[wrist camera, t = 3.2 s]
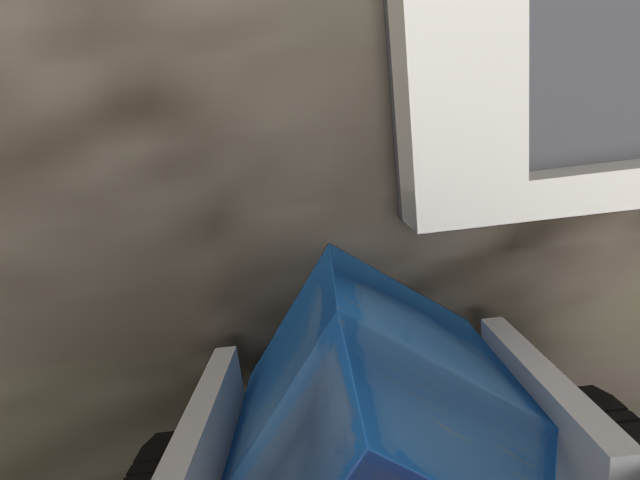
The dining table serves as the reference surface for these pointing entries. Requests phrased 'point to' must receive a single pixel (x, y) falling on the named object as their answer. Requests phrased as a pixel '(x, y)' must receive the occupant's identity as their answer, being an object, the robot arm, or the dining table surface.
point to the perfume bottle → (384, 392)
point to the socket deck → (513, 109)
